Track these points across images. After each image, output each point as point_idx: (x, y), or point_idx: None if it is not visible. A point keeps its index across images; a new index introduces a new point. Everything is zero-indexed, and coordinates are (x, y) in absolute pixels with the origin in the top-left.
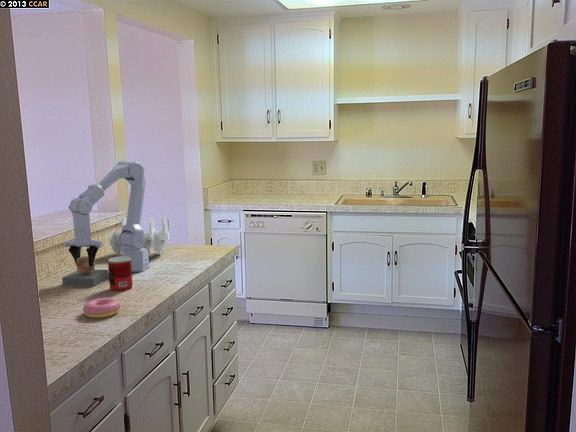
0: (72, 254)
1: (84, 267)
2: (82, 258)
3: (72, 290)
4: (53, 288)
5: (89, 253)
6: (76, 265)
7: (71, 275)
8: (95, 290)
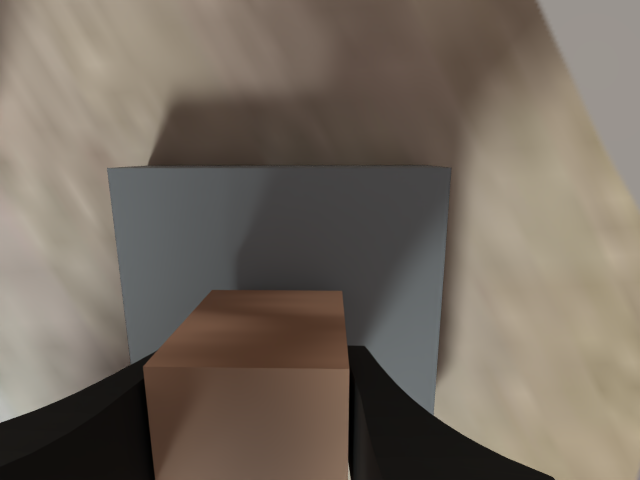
0: (433, 430)
1: (242, 312)
2: (274, 429)
3: (274, 42)
4: (478, 86)
5: (4, 439)
6: (363, 346)
7: (396, 262)
8: (71, 61)
